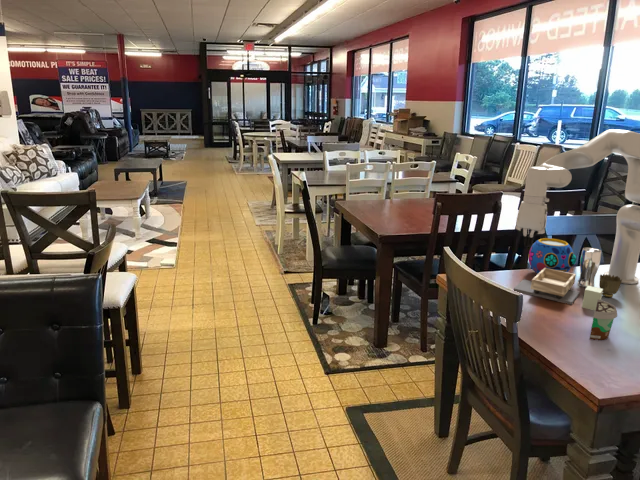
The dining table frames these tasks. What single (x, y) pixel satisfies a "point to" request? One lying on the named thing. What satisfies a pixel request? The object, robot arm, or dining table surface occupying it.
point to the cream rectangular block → (591, 297)
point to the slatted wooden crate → (553, 282)
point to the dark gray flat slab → (526, 288)
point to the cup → (609, 285)
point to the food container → (602, 320)
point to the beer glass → (589, 266)
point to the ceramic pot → (551, 255)
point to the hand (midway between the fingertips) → (527, 245)
